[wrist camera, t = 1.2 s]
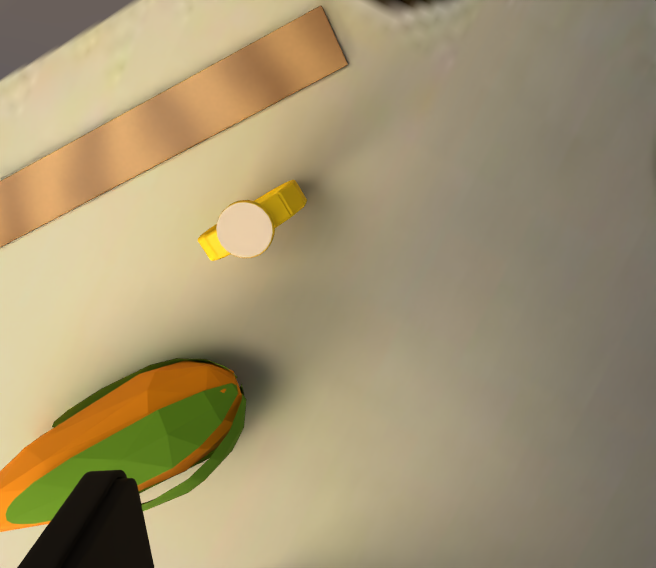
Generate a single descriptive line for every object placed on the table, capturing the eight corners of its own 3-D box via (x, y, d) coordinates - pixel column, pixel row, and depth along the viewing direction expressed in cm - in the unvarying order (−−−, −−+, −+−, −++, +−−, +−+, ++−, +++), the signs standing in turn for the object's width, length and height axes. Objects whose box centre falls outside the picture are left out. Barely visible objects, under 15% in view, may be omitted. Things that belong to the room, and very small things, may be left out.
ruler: (321, 6, 30) (321, 5, 29) (347, 64, 30) (347, 64, 30) (-122, 248, 34) (-126, 249, 34) (-89, 293, 35) (-92, 295, 35)
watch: (230, 256, 34) (206, 286, 28) (204, 216, 33) (174, 238, 27) (316, 205, 33) (309, 226, 27) (291, 163, 32) (279, 175, 26)
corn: (262, 481, 29) (-32, 621, 33) (283, 413, 37) (42, 533, 40) (185, 361, 28) (-112, 520, 31) (223, 316, 35) (-21, 449, 39)
